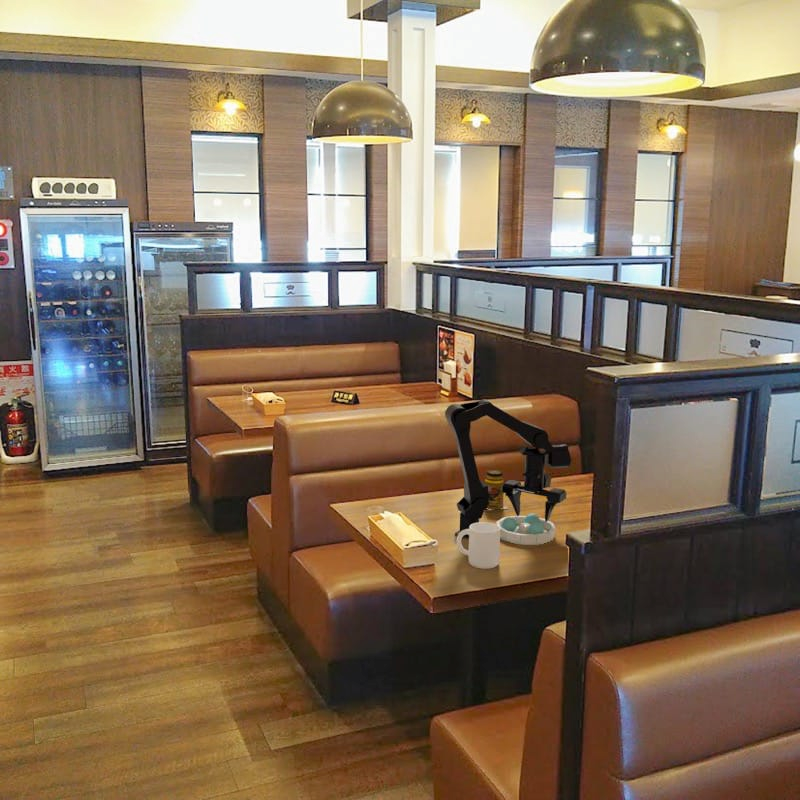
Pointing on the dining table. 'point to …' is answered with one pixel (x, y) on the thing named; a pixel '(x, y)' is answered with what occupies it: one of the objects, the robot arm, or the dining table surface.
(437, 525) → the dining table surface
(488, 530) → the mug
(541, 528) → the bead
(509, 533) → the groove tray
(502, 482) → the condiment
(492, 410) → the robot arm
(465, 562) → the dining table surface
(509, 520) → the bead
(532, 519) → the bead
